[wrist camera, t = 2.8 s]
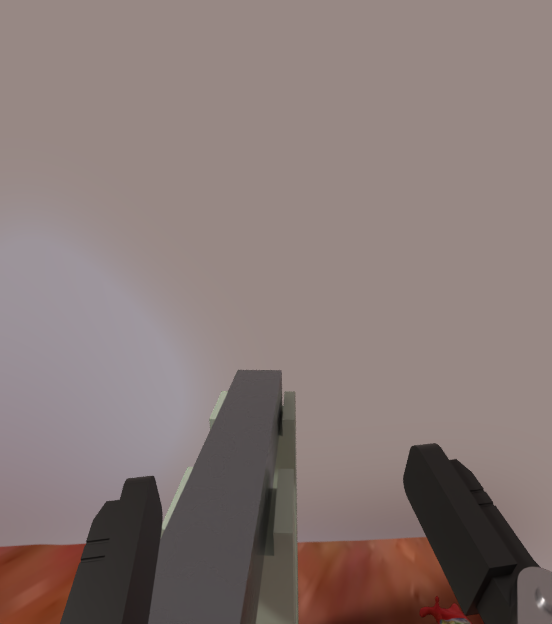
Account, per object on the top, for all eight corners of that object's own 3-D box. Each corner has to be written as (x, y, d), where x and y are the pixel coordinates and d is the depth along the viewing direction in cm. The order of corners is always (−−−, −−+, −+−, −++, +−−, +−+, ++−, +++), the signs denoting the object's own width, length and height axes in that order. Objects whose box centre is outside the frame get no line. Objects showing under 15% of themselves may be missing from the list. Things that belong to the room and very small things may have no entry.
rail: (79, 867, 10) (54, 770, 9) (239, 409, 34) (237, 370, 33) (223, 885, 10) (212, 787, 9) (282, 410, 34) (281, 370, 33)
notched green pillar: (179, 934, 26) (118, 553, 18) (229, 637, 44) (210, 384, 36) (320, 948, 25) (324, 560, 17) (311, 641, 44) (310, 384, 36)
